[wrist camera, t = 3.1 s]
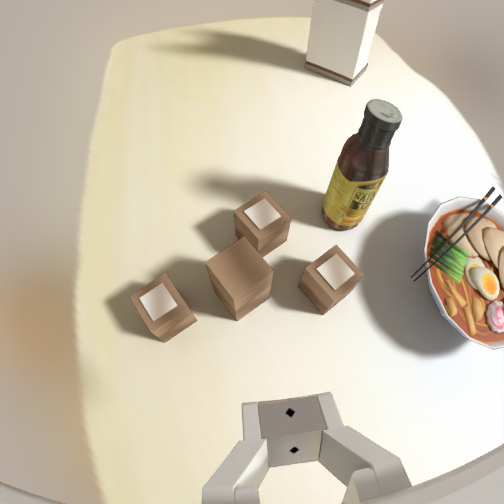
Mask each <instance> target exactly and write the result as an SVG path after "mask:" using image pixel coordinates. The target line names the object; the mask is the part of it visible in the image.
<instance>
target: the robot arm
mask: <svg viewBox="0 0 504 504" xmlns="http://www.w3.org/2000/svg"><path fill="white" fill-rule="evenodd" d="M258 412H259V413H258ZM242 421H243V438H244V440H243V441H239V442H238V443H237V444H236V446H235V447H234V448H233V450H232V451H231V452H230V454H229V455H228V456H227V458H226V459H225V460H224V462H223V463H222V464H221V465H220V467H219V468H218V469H217V470H216V472H215V473H214V474H213V476H212V477H211V478H210V479H209V480H208V482H207V483H206V484H205V485H204V487H203V488H202V504H260V498H259V492H258V490H257V489H258V488H259V486H260V484H261V482H262V481H263V479H264V477H265V475H266V473H267V472H268V470H269V468H270V467H277V466H284V465H290V464H297V463H305V462H312V461H319V462H320V463H321V464H322V465H323V466H324V467H325V468H326V469H327V470H328V471H330V472H331V473H332V474H333V475H334V476H335V477H336V478H337V479H339V480H340V481H341V482H342V483H343V484H344V485H345V486H347V487H348V488H347V490H346V493H345V496H344V498H343V501H342V504H504V444H502V445H500V446H499V447H497V448H495V449H493V450H492V451H490V452H488V453H486V454H484V455H482V456H480V457H479V458H477V459H475V460H473V461H471V462H469V463H467V464H465V465H462V466H460V467H458V468H456V469H454V470H452V471H449V472H447V473H445V474H443V475H440V476H438V477H435V478H433V479H431V480H428V481H426V482H423V483H420V484H418V485H415V486H412V485H411V483H410V481H409V478H408V476H407V474H406V472H405V469H404V467H403V465H402V463H401V460H400V458H399V457H397V456H396V455H394V454H392V453H391V452H389V451H387V450H386V449H384V448H382V447H381V446H379V445H378V444H376V443H374V442H373V441H371V440H370V439H368V438H367V437H365V436H364V435H362V434H360V433H359V432H357V431H356V430H354V429H353V428H351V427H350V426H344V425H343V422H342V419H341V417H340V414H339V411H338V408H337V406H336V403H335V400H334V398H333V395H332V393H331V392H327V393H321V394H316V395H315V394H314V395H308V396H302V397H295V398H289V399H283V400H272V401H260V402H258V404H257V402H250V403H242ZM0 504H65V503H61V502H57V501H54V500H51V499H47V498H44V497H41V496H38V495H35V494H31V493H29V492H26V491H23V490H20V489H17V488H15V487H12V486H9V485H7V484H4V483H2V482H0Z"/></svg>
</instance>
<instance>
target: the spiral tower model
mask: <svg viewBox="0 0 504 504" xmlns="http://www.w3.org/2000/svg"><path fill="white" fill-rule="evenodd" d="M383 2H384V0H313V7H312V16H311V24H310V32H309V40H308V48H307V56H306V64H305V68H307V69H309V70H312V71H315V72H317V73H320V74H322V75H325V76H327V77H330V78H332V79H334V80H337V81H339V82H341V83H344V84H346V85H348V86H350V87H351V86H352V85H353V84H354V82H355V81H356V80H357V79H358V78H359V77H360V76H361V75H362V74H363V73H364V72H365V71H366V69H367V65H368V63H367V61H368V57H369V53H370V49H371V46H372V42H373V38H374V34H375V30H376V26H377V22H378V17H379V13H380V10H381V9H382V6H383Z"/></svg>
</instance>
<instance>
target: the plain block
mask: <svg viewBox="0 0 504 504" xmlns="http://www.w3.org/2000/svg"><path fill="white" fill-rule="evenodd" d="M205 263H206V266H207V269H208V273H209V276H210V279H211V282H212V285H213V289H214V291H215V292H216V294H217V295H218V296H219V298H220V299H221V300H222V302H223V303H224V304H225V306H226V307H227V308H228V310H229V311H230V312H231V314H232V315H233V316H234V318H235V319H236V320H237V321H238V320H240V319H241V318H242V317H244V316H245V315H247V314H248V313H249V312H251V311H252V310H254V309H255V308H256V307H258V306H259V305H260V304H262V303H263V302H265V301H266V300H267V299H269V296H270V290H271V284H272V279H273V273H274V271H273V270H272V268H271V267H270V266H269V265H268V264H267V262H266V261H265V260H264V259H263V258H262V257H261V255H260V254H259V253H258V252H257V251H256V249H255V248H254V247H253V246H252V245H251V244H250V242H249V241H248V240H247V239H246V238H245V236H244V237H242V238H241V239H239V240H238V241H236V242H235V243H233V244H232V245H230V246H229V247H227V248H226V249H224V250H223V251H221V252H220V253H218V254H217V255H215V256H214V257H212V258H211V259H209V260H208V261H206V262H205Z"/></svg>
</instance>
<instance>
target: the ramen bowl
mask: <svg viewBox="0 0 504 504" xmlns="http://www.w3.org/2000/svg"><path fill="white" fill-rule="evenodd" d="M494 190H495V188H494V187H492V188H491V189H490V190H489V192H488V193H487V194H486V195H485V197H484V198H483V199H482V200H480V199H474V198H466V197H457V198H454V199H452V200H449V201H446V202H444V203H441V204H440V205H439V207H438V208H437V210H436V211H435V213H434V214H433V216H432V217H431V219H430V220H429V221H428V226H427V233H426V239H425V246H424V253H423V258H424V264H423V265H422V266H421V267H420V268H419V269H418V270H417V271H416V272H415V273H414V274H413V275H412V276H411V278H412V277H413V276H414V275H415V274H416V273H417V272H418V271H419V270H420V269H421V268H422V267H423V266H424V265H425V269H426V270H425V271H424V272H423V273H422V274H421V275H423V274H424V273H425V272H426V274H427V280H428V285H429V290H430V292H431V294H432V296H433V298H434V300H435V302H436V304H437V306H438V308H439V310H440V313H441V315H442V316H443V317H444V318H445V319H446V320H447V321H448V322H449V323H450V324H451V325H452V326H453V327H454V328H455V329H456V330H457V331H458V332H459V333H460V334H461V335H462V336H463V337H464V338H466V339H469V340H471V341H473V342H476V343H478V344H481V345H483V346H486V347H488V348H491V349H493V350H494V349H499V348H503V347H504V214H503V213H502V212H501V211H499V210H497V209H496V208H494V206H495V205H496V204H497V203H498V201H499V200H500V199H501V198H502V196H501V195H499V196H498V197H497V198H496V199H495V201H494V202H493V203H492V204H491V205H489V204H487V203H485V201H486V200H487V198H488V197H489V196H490V195H491V194H492V193H493V191H494ZM421 275H419V276H418V277H417V278H416V279H415V280H414V281H416V280H417V279H418V278H419V277H420V276H421Z"/></svg>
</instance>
